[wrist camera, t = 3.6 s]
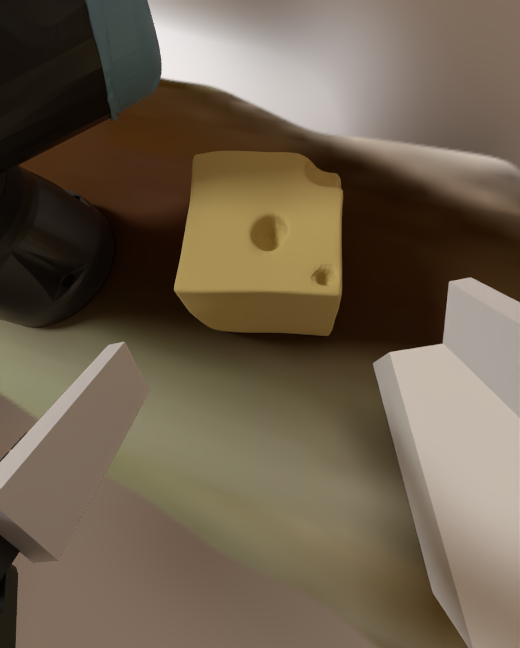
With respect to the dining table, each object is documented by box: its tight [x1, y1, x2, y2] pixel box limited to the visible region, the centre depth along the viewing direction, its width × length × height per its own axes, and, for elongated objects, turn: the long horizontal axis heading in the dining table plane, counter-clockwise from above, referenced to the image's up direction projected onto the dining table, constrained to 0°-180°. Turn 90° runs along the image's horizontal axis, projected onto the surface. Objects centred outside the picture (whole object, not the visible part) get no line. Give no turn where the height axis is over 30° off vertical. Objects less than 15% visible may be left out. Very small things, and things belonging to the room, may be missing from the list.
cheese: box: [174, 151, 343, 336], centre depth 21 cm, size 10×11×10 cm
